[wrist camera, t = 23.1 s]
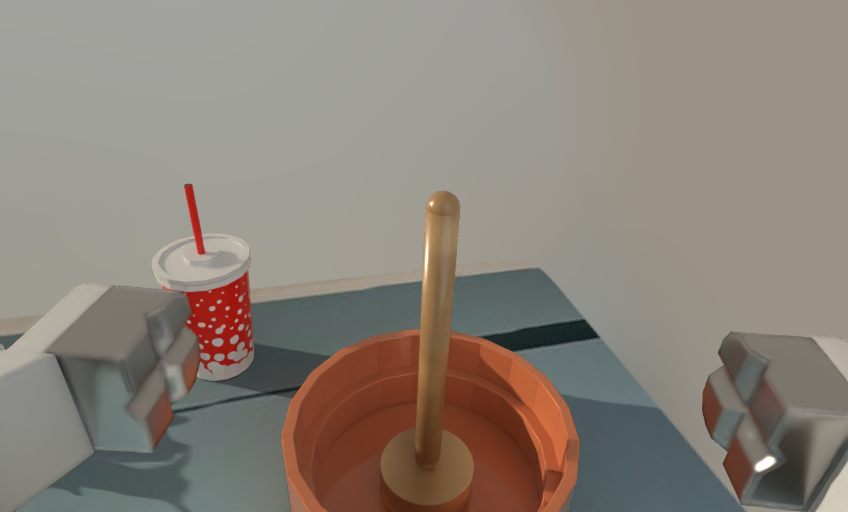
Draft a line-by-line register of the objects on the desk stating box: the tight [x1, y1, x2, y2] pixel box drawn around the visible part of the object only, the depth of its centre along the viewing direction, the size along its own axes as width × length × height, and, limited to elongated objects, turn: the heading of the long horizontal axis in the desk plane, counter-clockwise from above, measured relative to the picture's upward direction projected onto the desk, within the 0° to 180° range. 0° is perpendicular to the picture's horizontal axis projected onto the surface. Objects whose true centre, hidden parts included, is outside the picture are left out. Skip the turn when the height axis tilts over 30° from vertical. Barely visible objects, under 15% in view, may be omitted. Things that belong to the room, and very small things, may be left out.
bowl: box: [281, 329, 580, 512], centre depth 31 cm, size 15×15×6 cm
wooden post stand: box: [380, 191, 474, 512], centre depth 27 cm, size 5×5×18 cm
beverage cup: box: [151, 184, 254, 381], centre depth 38 cm, size 6×6×14 cm
